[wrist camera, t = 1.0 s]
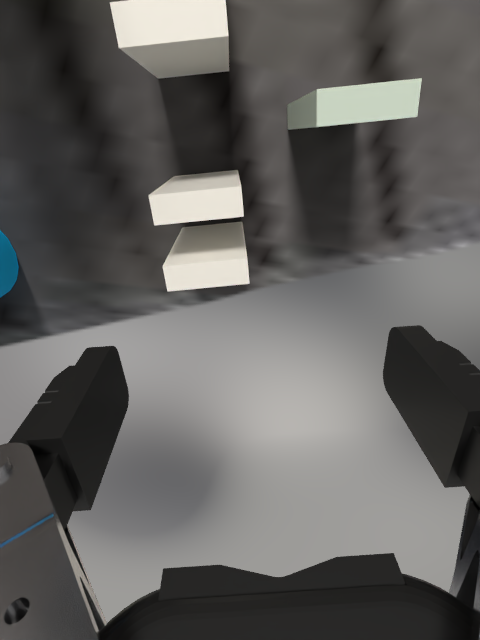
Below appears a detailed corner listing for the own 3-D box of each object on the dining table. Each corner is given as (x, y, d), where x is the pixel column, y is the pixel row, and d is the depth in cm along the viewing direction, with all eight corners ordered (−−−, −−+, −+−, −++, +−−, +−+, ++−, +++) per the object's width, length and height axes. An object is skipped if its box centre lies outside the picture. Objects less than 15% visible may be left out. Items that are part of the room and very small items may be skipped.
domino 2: (174, 176, 28) (148, 195, 19) (237, 169, 28) (241, 186, 19) (177, 197, 29) (154, 225, 20) (239, 191, 29) (243, 216, 20)
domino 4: (287, 105, 26) (316, 89, 17) (355, 97, 26) (421, 78, 17) (287, 129, 27) (316, 127, 18) (354, 122, 27) (417, 116, 18)
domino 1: (153, 50, 24) (109, 2, 16) (226, 42, 24) (224, -11, 15) (158, 78, 25) (118, 47, 16) (229, 71, 25) (228, 36, 16)
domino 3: (182, 227, 30) (162, 266, 21) (242, 221, 30) (247, 258, 21) (185, 246, 31) (167, 291, 22) (243, 240, 31) (249, 283, 22)
